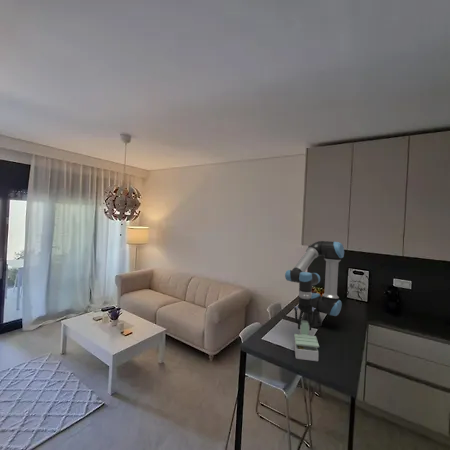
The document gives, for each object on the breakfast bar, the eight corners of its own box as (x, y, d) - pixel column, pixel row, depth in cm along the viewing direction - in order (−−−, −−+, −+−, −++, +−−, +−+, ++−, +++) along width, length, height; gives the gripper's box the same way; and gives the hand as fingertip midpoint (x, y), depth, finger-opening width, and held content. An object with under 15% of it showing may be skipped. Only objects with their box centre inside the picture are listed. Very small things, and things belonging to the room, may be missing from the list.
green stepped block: (293, 331, 161) (294, 319, 161) (314, 333, 158) (314, 321, 158) (295, 344, 143) (296, 331, 143) (319, 347, 141) (319, 333, 141)
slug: (298, 350, 152) (298, 345, 152) (303, 350, 151) (303, 345, 151) (298, 352, 149) (298, 347, 149) (303, 353, 149) (303, 348, 149)
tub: (294, 349, 154) (294, 339, 154) (315, 352, 152) (315, 342, 152) (295, 359, 143) (296, 349, 143) (318, 362, 140) (318, 351, 140)
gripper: (291, 298, 155) (290, 336, 156) (320, 300, 152) (319, 339, 152) (290, 294, 163) (289, 330, 163) (318, 296, 159) (317, 333, 160)
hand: (304, 334), depth 158 cm, fingers closed on green stepped block, 4 cm apart
